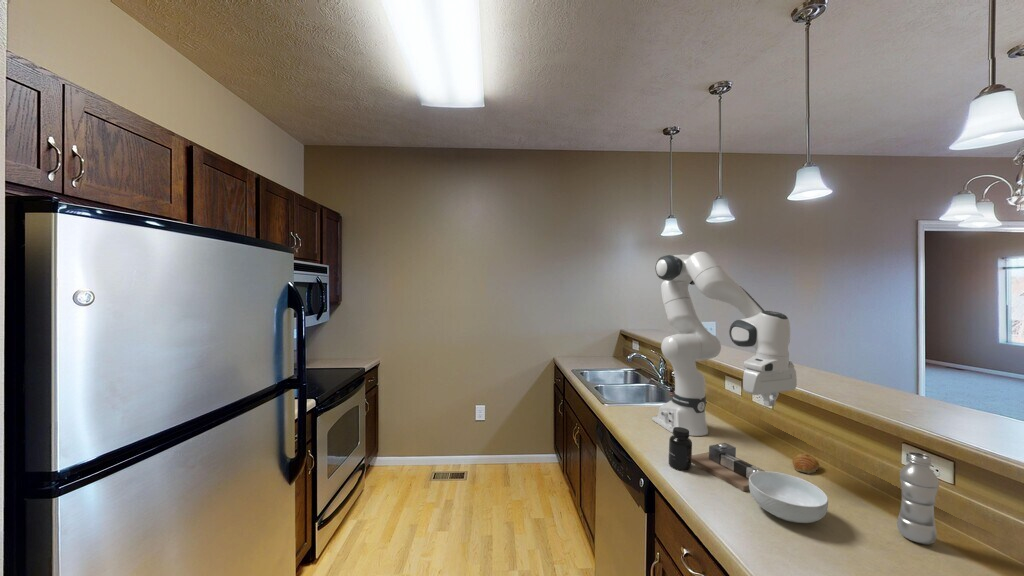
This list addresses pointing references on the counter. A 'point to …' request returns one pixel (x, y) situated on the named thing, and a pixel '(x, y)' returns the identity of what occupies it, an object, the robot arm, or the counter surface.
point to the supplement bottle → (680, 449)
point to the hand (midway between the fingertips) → (769, 405)
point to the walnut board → (721, 471)
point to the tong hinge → (721, 452)
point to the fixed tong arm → (737, 466)
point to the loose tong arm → (743, 462)
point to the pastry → (805, 463)
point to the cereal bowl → (788, 496)
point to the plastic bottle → (918, 499)
